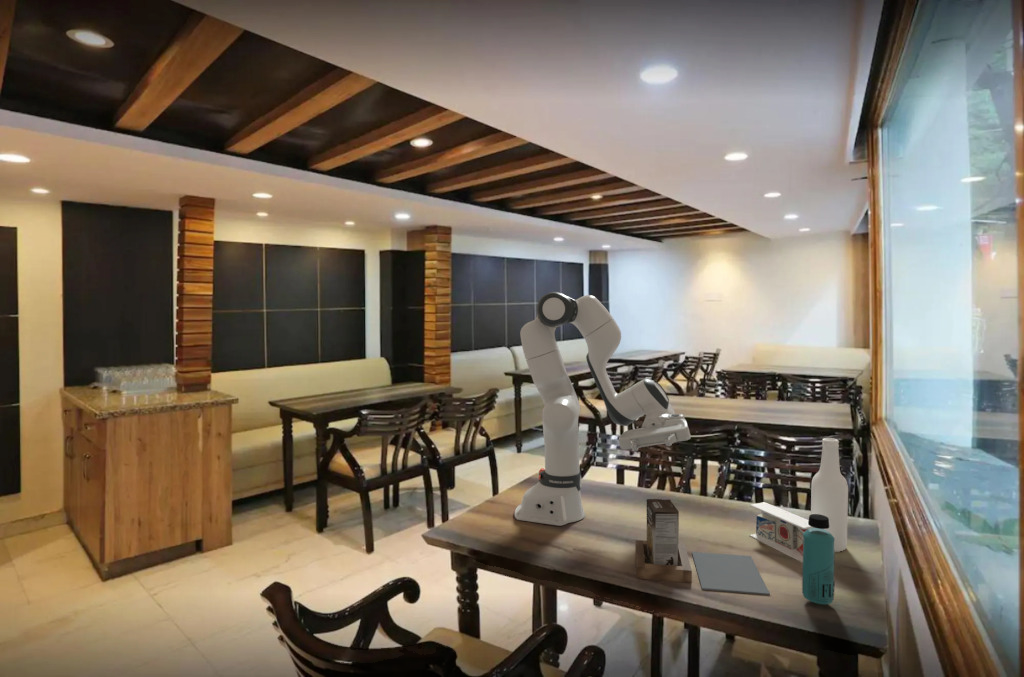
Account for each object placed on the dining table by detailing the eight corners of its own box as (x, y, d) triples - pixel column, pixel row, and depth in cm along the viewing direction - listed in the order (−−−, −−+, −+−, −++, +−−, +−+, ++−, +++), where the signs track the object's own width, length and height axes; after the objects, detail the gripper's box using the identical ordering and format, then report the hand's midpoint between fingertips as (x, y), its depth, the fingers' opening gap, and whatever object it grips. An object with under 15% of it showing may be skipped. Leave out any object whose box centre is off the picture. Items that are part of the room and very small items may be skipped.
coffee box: (645, 557, 150) (645, 498, 150) (669, 558, 150) (670, 498, 149) (653, 574, 141) (653, 510, 140) (679, 574, 141) (679, 511, 140)
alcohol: (812, 550, 154) (814, 441, 152) (808, 537, 162) (810, 434, 161) (849, 555, 151) (852, 444, 149) (843, 542, 159) (846, 437, 157)
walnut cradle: (636, 578, 139) (636, 566, 139) (635, 550, 155) (635, 539, 155) (691, 582, 137) (691, 570, 137) (684, 554, 152) (684, 543, 152)
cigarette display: (749, 536, 164) (749, 504, 164) (763, 533, 166) (764, 501, 166) (807, 565, 146) (807, 529, 145) (823, 561, 148) (823, 526, 147)
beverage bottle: (822, 614, 122) (824, 524, 121) (794, 600, 128) (796, 514, 127) (840, 606, 125) (843, 518, 124) (812, 593, 131) (814, 509, 130)
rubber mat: (702, 589, 133) (702, 587, 133) (691, 553, 153) (691, 551, 153) (769, 595, 131) (769, 593, 130) (750, 557, 150) (750, 555, 150)
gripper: (620, 424, 173) (611, 441, 161) (688, 413, 165) (684, 429, 153) (626, 443, 174) (617, 461, 161) (693, 433, 166) (690, 451, 153)
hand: (650, 445), depth 157 cm, fingers open, 8 cm apart
